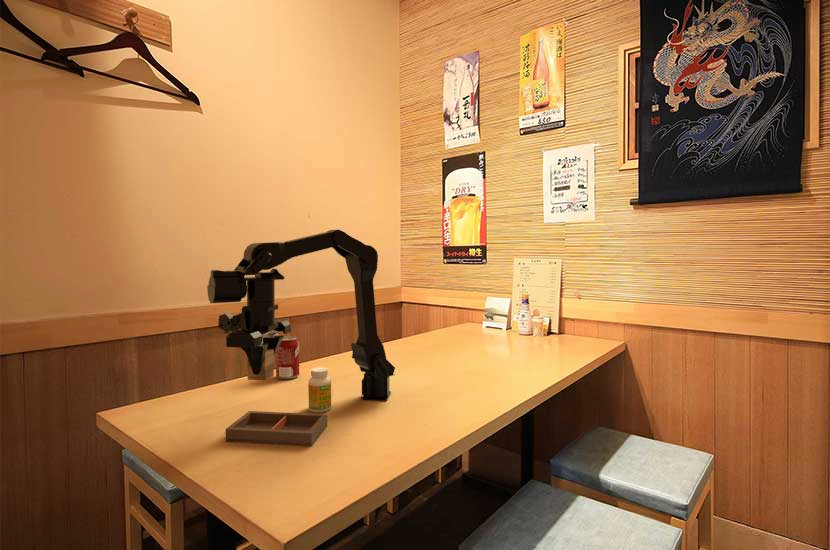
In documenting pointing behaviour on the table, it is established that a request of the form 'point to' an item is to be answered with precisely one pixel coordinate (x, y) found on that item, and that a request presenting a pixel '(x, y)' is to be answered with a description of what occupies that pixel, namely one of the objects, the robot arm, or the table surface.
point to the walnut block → (263, 367)
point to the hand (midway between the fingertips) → (261, 371)
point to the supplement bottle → (319, 390)
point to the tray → (277, 428)
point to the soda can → (287, 358)
